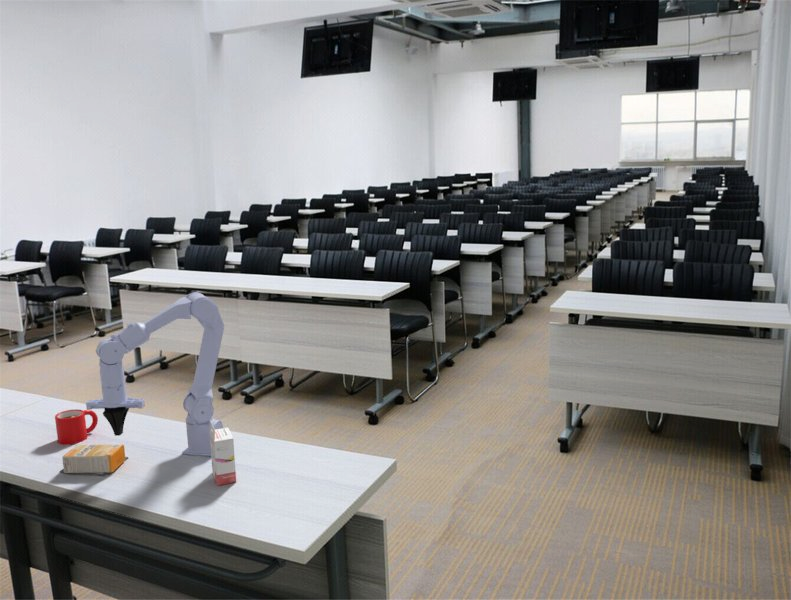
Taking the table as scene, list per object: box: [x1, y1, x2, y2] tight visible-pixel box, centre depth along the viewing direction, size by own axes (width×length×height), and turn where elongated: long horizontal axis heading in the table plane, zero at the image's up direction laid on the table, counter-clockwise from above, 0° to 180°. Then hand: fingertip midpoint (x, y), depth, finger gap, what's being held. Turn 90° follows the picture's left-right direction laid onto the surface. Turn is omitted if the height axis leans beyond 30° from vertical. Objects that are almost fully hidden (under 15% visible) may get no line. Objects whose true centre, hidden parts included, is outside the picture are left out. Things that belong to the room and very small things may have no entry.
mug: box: [54, 409, 99, 446], centre depth 205 cm, size 8×12×8 cm, turn 144°
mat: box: [59, 456, 129, 477], centre depth 186 cm, size 13×11×1 cm
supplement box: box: [62, 444, 126, 474], centre depth 184 cm, size 8×5×13 cm
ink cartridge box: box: [210, 420, 237, 486], centre depth 176 cm, size 9×5×15 cm, turn 23°
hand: (118, 434), depth 183 cm, fingers closed
